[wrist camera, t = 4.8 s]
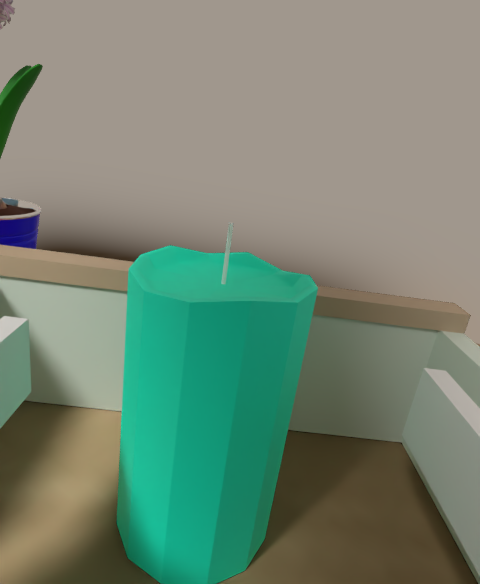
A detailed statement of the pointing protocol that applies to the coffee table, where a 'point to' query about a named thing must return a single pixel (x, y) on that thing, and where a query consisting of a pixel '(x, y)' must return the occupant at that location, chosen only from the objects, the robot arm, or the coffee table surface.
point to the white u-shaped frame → (316, 362)
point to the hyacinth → (3, 108)
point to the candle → (206, 407)
